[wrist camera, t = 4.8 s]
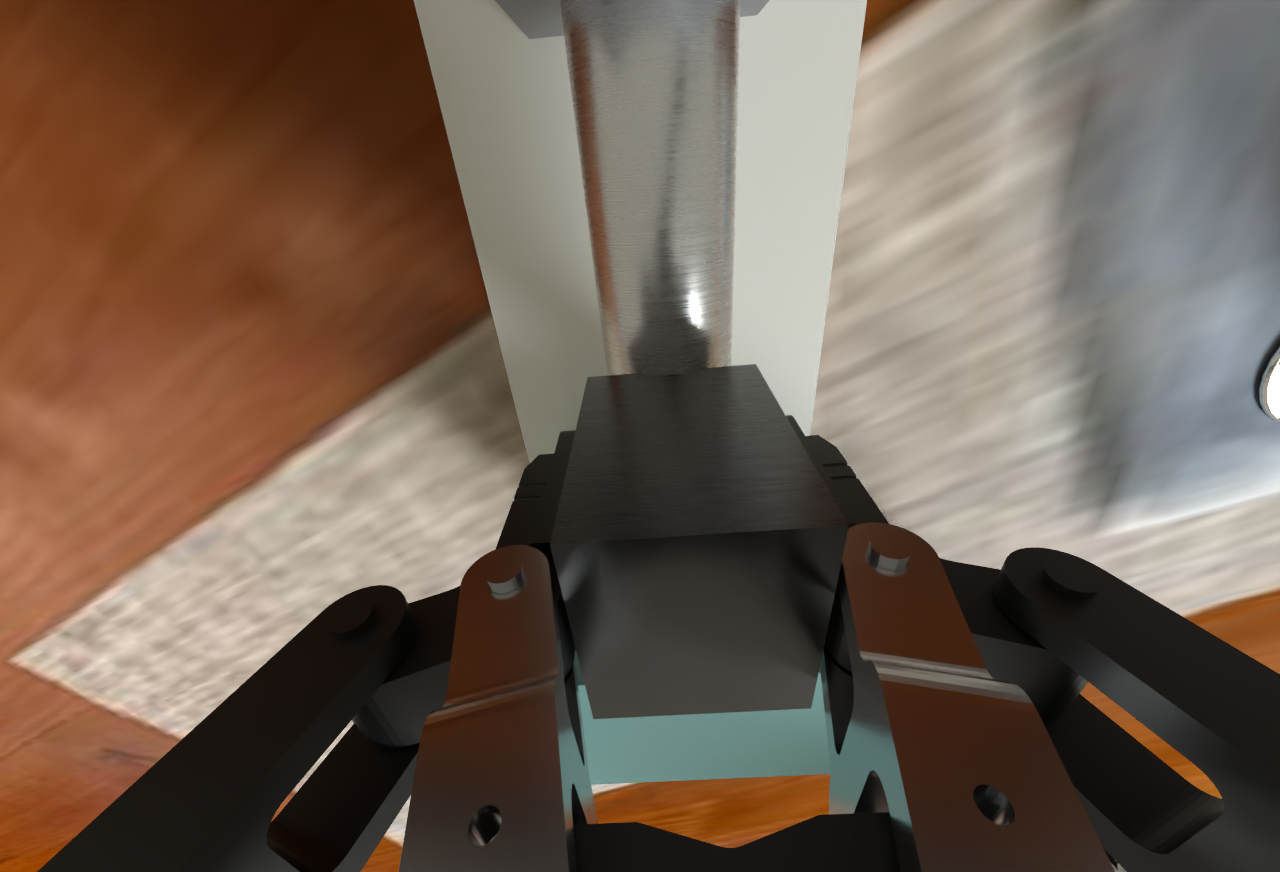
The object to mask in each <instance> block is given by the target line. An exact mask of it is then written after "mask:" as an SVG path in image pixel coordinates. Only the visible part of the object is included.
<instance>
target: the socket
mask: <svg viewBox="0 0 1280 872" xmlns="http://www.w3.org/2000/svg"><path fill="white" fill-rule="evenodd" d="M574 663H575V667H576V675H577V682H578V690H579V698H580V706H581V714H582V722H583V730H584V738H585V746H586V754H587V762H588V769H589V776H590V783H591V784H613V783H636V782H658V781H681V780H704V779H726V778H749V777H771V776H794V775H817V774H830V758H829V748H828V739H827V729H826V720H825V710H824V701H823V692H822V682H821V673H820V668H819V673H818V678H817V683H816V688H815V693H814V697H813V702H812V707H811V709H791V710H770V711H750V712H730V713H710V714H690V715H669V716H649V717H629V718H609V719H593V715H592V711H591V707H590V703H589V699H588V695H587V691H586V687H585V683H584V679H583V675H582V671H581V667H580V663H579V659H578V655H577V651H576V650H575V657H574Z"/></svg>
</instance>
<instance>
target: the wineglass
mask: <svg viewBox="0 0 1280 872" xmlns="http://www.w3.org/2000/svg"><path fill="white" fill-rule="evenodd" d="M1259 402H1260V404H1261V406H1262V409H1263V411H1264V412H1265V413H1266V414H1267V415H1268V416H1269V417H1270V418H1271V419H1272V420H1274V421H1277V422H1279V423H1280V346H1279V347H1278V349H1277V350H1276V351H1275V353H1274V354H1273V356H1272V357H1271V359H1270V361H1269V363H1268V365H1267V367H1266V369H1265V371H1264V373H1263V375H1262V379H1261V383H1260V387H1259Z"/></svg>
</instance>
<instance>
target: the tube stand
mask: <svg viewBox="0 0 1280 872" xmlns="http://www.w3.org/2000/svg"><path fill="white" fill-rule="evenodd" d="M866 3H867V0H740V29H739V70H738V111H737V153H736V194H735V235H734V277H733V318H732V359H731V366H738V365H751V364H756V365H757V367H758V369H759V370H760V372H761V374H762V376H763V377H764V379H765V381H766V383H767V384H768V386H769V388H770V390H771V391H772V393H773V395H774V396H775V398H776V400H777V402H778V403H779V405H780V407H781V409H782V410H783V412H784V414H785V415H792V416H793V417H794V418H795V420H796V422H797V423H798V425H799V427H800V428H801V430H802V431H803V433H804V435H805V436H810V432H811V425H812V417H813V409H814V402H815V394H816V386H817V379H818V371H819V363H820V356H821V348H822V340H823V333H824V325H825V317H826V310H827V302H828V294H829V287H830V279H831V271H832V264H833V256H834V248H835V241H836V233H837V225H838V218H839V210H840V202H841V195H842V187H843V180H844V172H845V164H846V157H847V149H848V141H849V134H850V126H851V118H852V111H853V103H854V95H855V88H856V80H857V72H858V65H859V57H860V49H861V42H862V34H863V26H864V19H865V11H866ZM414 4H415V8H416V12H417V16H418V20H419V24H420V28H421V32H422V36H423V40H424V44H425V48H426V52H427V56H428V60H429V64H430V68H431V72H432V76H433V80H434V84H435V88H436V92H437V96H438V100H439V104H440V108H441V112H442V116H443V120H444V124H445V128H446V132H447V136H448V140H449V144H450V148H451V152H452V156H453V160H454V164H455V168H456V172H457V176H458V180H459V184H460V188H461V192H462V196H463V200H464V204H465V208H466V212H467V216H468V220H469V224H470V228H471V232H472V236H473V240H474V244H475V248H476V252H477V256H478V260H479V264H480V268H481V272H482V276H483V280H484V284H485V288H486V292H487V296H488V300H489V304H490V308H491V312H492V316H493V320H494V324H495V328H496V332H497V336H498V340H499V344H500V348H501V352H502V356H503V360H504V364H505V368H506V372H507V376H508V380H509V384H510V388H511V392H512V396H513V400H514V404H515V408H516V412H517V416H518V420H519V424H520V428H521V432H522V436H523V440H524V444H525V448H526V452H527V456H528V460H529V464H530V463H531V462H532V461H533V460H534V459H535V458H536V457H537V456H538V455H540V454H554V452H555V449H556V445H557V441H558V438H559V434H560V432H561V431H572V430H576V426H577V422H578V417H579V413H580V408H581V404H582V399H583V395H584V391H585V386H586V382H587V377H595V376H607V368H606V360H605V353H604V345H603V337H602V329H601V321H600V313H599V306H598V298H597V290H596V282H595V274H594V266H593V258H592V251H591V243H590V235H589V227H588V219H587V211H586V204H585V196H584V188H583V180H582V172H581V164H580V156H579V149H578V141H577V133H576V125H575V117H574V109H573V102H572V94H571V86H570V78H569V70H568V62H567V54H566V47H565V39H564V31H563V23H562V15H561V7H560V0H414Z"/></svg>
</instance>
